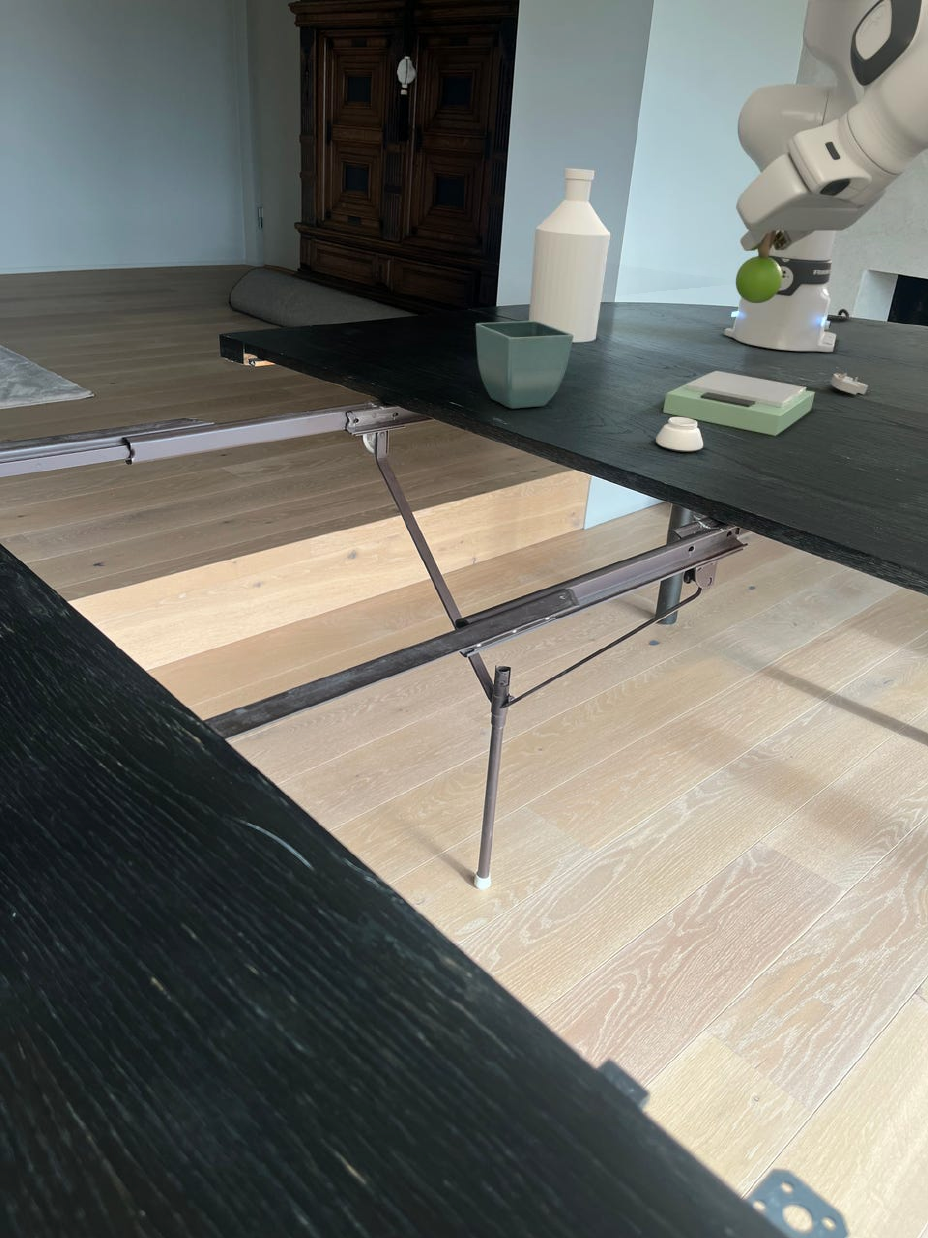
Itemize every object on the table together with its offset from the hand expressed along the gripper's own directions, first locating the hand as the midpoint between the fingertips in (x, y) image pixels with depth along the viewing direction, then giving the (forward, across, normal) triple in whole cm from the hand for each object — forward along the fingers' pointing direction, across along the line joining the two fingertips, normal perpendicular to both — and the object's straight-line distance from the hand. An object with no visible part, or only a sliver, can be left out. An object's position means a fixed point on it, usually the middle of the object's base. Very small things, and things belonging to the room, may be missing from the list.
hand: (761, 245), depth 115 cm
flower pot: (+22, +26, +5) cm, 35 cm away
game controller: (+14, -21, +14) cm, 28 cm away
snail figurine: (+4, 0, +5) cm, 7 cm away
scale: (+12, +2, +16) cm, 20 cm away
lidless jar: (+7, +22, +21) cm, 31 cm away
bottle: (+44, -11, -17) cm, 48 cm away
